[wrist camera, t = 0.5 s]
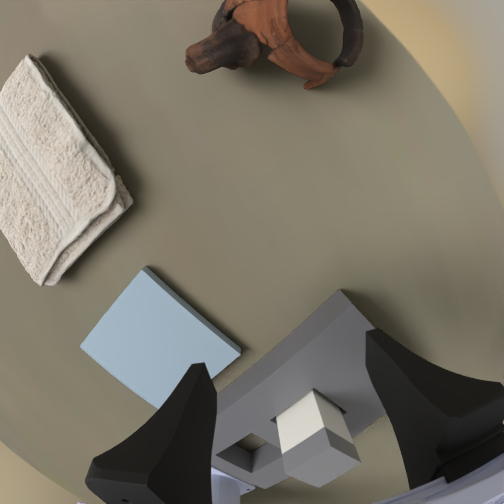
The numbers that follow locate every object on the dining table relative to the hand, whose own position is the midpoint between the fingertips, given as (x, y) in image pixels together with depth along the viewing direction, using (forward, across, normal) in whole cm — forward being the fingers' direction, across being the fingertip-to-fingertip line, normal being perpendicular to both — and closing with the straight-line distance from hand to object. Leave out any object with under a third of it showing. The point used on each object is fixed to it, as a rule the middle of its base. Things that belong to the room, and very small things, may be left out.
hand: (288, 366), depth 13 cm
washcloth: (+12, +17, -12) cm, 24 cm away
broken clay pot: (+13, -3, -17) cm, 21 cm away
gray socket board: (+9, 0, +13) cm, 16 cm away
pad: (+10, +11, +5) cm, 15 cm away
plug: (+10, -1, +13) cm, 16 cm away
